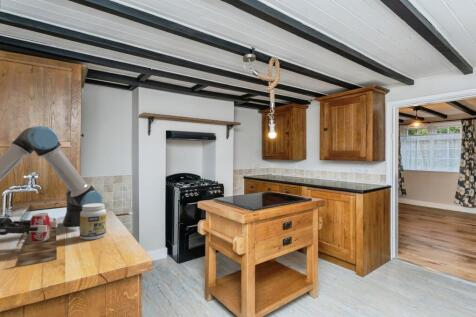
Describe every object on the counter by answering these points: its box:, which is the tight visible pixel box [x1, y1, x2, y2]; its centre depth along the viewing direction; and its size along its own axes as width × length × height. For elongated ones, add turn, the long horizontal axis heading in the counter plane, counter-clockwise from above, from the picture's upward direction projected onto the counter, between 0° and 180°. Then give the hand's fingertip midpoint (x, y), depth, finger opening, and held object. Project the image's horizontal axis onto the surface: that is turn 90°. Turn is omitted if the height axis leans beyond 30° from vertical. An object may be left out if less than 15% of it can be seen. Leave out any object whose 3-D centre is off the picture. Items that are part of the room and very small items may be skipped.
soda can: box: [29, 212, 51, 243], centre depth 118 cm, size 7×7×12 cm
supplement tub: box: [79, 202, 107, 241], centre depth 137 cm, size 12×12×17 cm
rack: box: [18, 228, 58, 267], centre depth 118 cm, size 12×34×4 cm, turn 35°
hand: (51, 226), depth 118 cm, fingers closed on soda can, 7 cm apart
